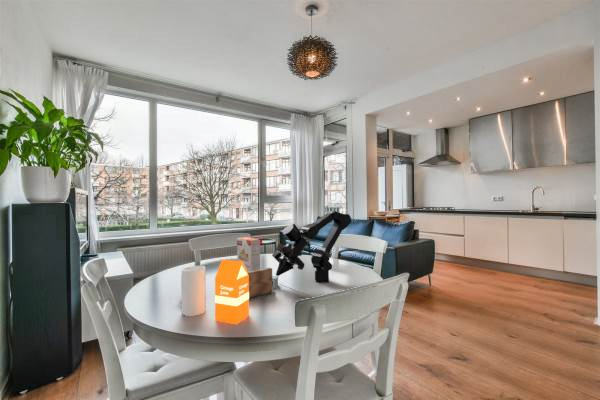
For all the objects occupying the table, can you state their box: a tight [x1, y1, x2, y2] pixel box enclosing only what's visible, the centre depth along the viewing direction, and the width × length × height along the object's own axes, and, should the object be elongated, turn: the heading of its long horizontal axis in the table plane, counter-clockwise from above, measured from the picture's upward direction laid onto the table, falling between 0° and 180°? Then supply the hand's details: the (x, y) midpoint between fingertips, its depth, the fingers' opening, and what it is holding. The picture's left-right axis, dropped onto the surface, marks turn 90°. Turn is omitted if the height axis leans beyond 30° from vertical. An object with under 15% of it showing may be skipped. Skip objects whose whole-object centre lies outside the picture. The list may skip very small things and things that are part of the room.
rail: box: [249, 290, 276, 301], centre depth 118 cm, size 22×4×2 cm, turn 128°
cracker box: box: [236, 236, 261, 272], centre depth 149 cm, size 14×6×21 cm, turn 42°
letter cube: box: [272, 275, 279, 289], centre depth 134 cm, size 4×5×4 cm
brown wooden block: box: [247, 267, 273, 297], centre depth 120 cm, size 12×3×10 cm, turn 128°
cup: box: [181, 265, 207, 317], centre depth 104 cm, size 8×8×16 cm
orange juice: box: [214, 259, 250, 325], centre depth 98 cm, size 8×9×20 cm
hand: (276, 275), depth 126 cm, fingers closed
